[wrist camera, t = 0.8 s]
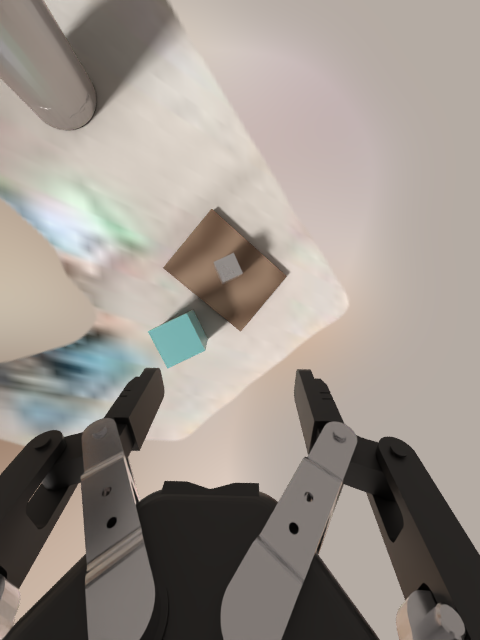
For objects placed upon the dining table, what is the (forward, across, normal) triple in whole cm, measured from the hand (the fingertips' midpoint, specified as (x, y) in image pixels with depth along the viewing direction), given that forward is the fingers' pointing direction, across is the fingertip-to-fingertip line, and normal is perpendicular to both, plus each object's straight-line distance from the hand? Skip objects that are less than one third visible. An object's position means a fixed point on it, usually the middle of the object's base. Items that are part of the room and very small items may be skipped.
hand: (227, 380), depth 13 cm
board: (+27, +2, 0) cm, 27 cm away
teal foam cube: (+23, +9, +9) cm, 26 cm away
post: (+26, +2, 0) cm, 26 cm away
